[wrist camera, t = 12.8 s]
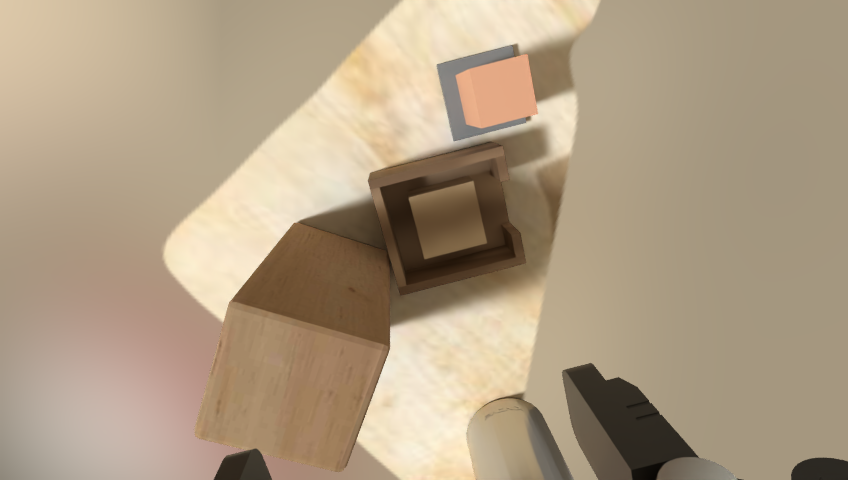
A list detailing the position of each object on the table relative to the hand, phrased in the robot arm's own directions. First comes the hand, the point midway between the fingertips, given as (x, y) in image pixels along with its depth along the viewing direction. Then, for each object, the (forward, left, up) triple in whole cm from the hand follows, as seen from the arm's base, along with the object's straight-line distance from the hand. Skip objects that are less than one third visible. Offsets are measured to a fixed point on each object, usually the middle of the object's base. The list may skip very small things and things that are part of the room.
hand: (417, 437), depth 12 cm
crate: (-3, -4, -36) cm, 36 cm away
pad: (+7, -10, -36) cm, 38 cm away
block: (+7, -10, -36) cm, 38 cm away
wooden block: (-7, +9, -36) cm, 38 cm away
